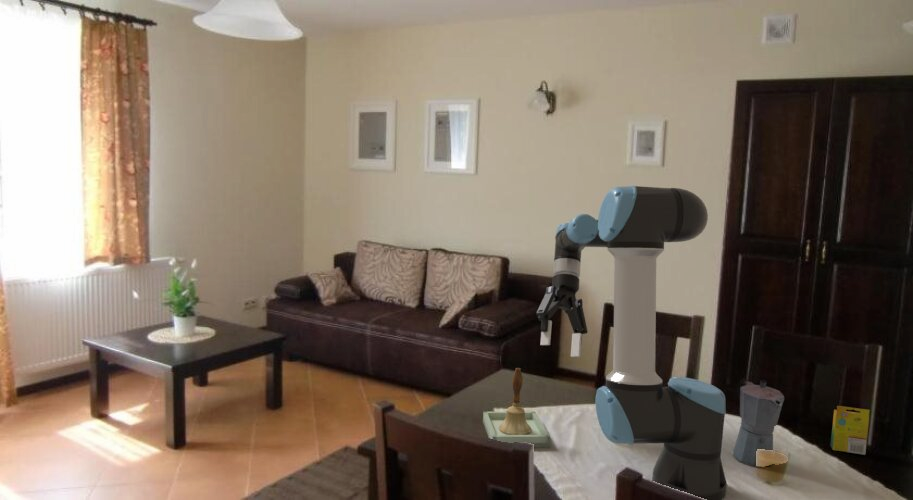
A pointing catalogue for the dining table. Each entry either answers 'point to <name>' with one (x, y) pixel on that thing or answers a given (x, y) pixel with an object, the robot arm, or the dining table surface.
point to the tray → (535, 437)
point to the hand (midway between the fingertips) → (560, 351)
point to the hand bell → (515, 411)
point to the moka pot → (756, 419)
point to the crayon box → (850, 430)
